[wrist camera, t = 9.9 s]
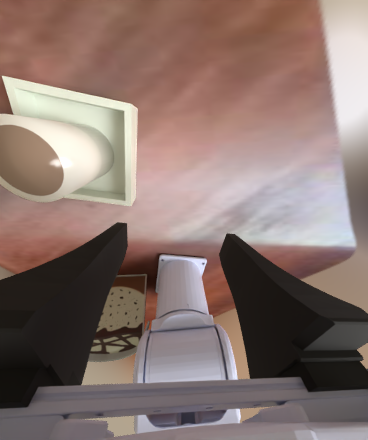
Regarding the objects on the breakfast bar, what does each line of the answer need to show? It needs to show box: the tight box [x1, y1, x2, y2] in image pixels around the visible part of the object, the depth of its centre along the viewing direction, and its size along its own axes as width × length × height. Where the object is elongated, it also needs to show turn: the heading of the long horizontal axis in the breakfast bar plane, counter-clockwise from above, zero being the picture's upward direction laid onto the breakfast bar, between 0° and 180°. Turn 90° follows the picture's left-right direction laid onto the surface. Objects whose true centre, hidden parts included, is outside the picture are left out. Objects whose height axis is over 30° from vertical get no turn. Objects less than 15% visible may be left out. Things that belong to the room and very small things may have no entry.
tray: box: [2, 76, 138, 206], centre depth 16 cm, size 10×10×3 cm
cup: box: [0, 114, 114, 202], centre depth 13 cm, size 5×5×8 cm
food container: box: [88, 274, 149, 362], centre depth 24 cm, size 12×6×10 cm, turn 89°
